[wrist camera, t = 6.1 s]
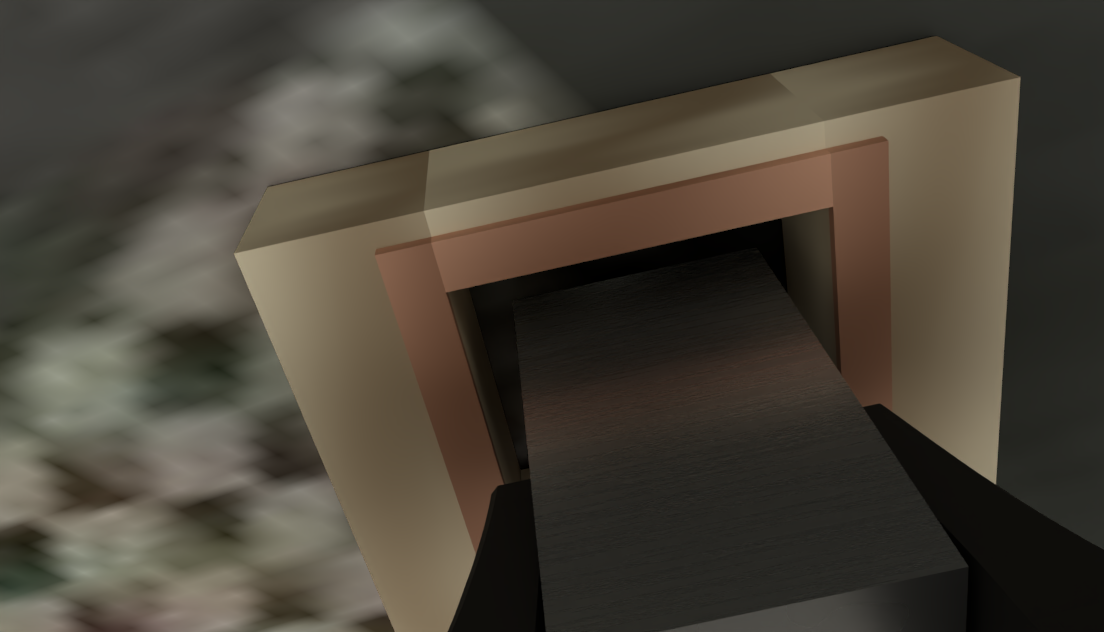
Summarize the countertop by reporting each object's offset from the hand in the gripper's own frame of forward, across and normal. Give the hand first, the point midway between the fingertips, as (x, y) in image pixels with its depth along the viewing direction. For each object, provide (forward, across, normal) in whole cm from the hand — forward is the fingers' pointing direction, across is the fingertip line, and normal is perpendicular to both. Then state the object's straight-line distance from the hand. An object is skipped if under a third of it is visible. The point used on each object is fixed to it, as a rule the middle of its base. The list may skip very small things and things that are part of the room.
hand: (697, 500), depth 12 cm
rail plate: (+5, 0, +5) cm, 7 cm away
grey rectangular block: (+4, 0, 0) cm, 4 cm away
